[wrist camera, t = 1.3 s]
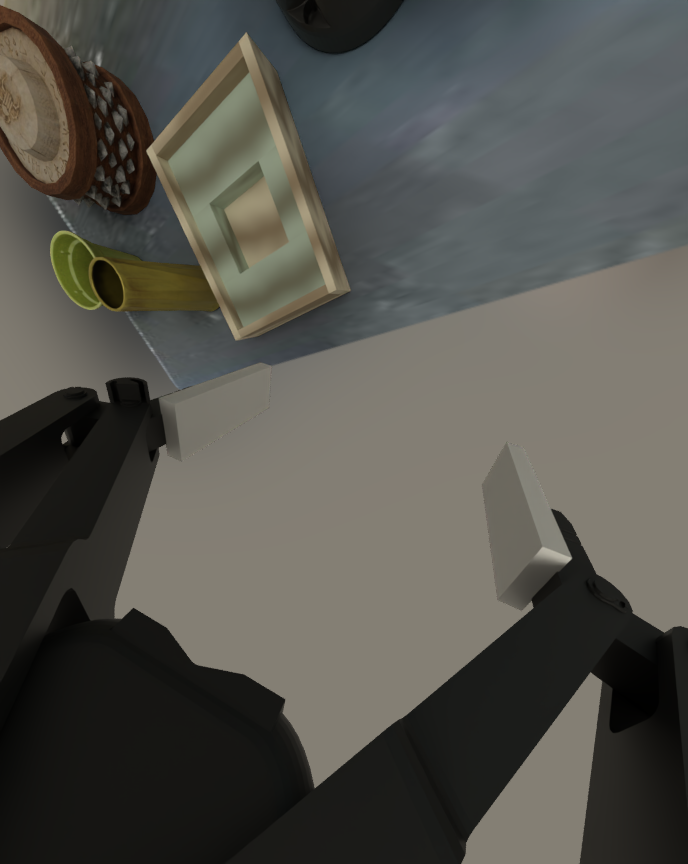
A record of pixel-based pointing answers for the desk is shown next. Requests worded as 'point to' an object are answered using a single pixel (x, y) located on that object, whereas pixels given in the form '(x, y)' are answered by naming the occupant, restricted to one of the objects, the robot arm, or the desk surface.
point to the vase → (150, 286)
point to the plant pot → (79, 266)
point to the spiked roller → (70, 122)
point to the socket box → (249, 197)
